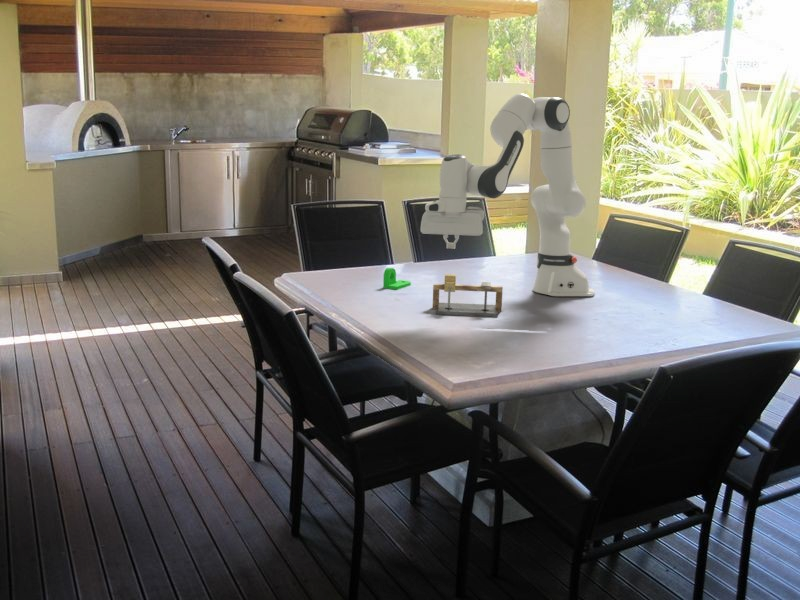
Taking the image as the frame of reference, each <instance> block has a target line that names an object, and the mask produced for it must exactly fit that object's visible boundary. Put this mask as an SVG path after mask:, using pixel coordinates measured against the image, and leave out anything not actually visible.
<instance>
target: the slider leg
mask: <svg viewBox="0 0 800 600" xmlns="http://www.w3.org/2000/svg"><path fill="white" fill-rule="evenodd" d="M456 279H457V274H455V273H445V274H444V283H443V284H444V290H443V291H444V292H445V293H447V303H448V308H450V303H451V293H455V292H456V290H455V284H457V282H456Z"/></svg>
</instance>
